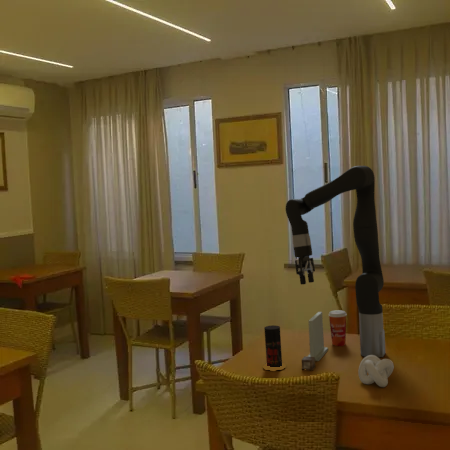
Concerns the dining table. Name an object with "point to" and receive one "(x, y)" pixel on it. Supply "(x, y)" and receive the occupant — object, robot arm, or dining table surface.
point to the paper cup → (338, 327)
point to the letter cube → (308, 363)
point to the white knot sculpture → (375, 370)
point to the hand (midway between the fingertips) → (307, 283)
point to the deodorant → (273, 346)
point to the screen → (316, 337)
